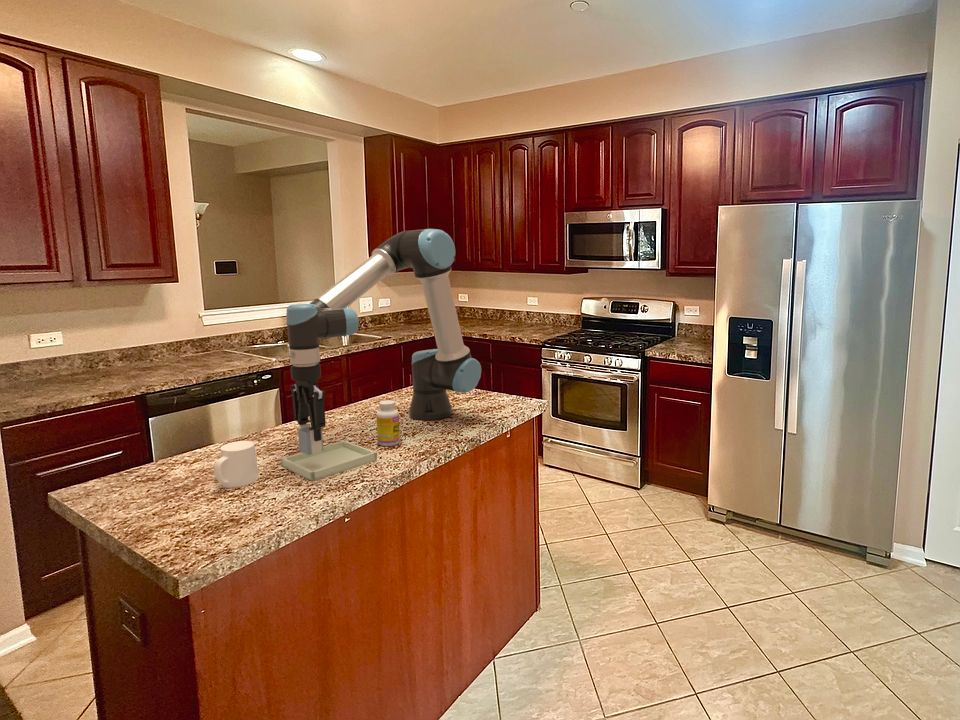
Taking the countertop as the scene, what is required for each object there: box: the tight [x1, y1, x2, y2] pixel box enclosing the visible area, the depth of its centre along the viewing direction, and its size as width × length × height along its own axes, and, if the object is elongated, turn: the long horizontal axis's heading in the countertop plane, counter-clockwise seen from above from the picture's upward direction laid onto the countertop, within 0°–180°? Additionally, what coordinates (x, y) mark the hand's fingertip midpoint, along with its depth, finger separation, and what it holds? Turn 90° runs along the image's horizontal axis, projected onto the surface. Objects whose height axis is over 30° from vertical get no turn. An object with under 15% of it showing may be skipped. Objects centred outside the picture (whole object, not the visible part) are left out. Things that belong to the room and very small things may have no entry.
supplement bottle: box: [375, 399, 401, 447], centre depth 172 cm, size 7×7×13 cm
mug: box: [213, 440, 260, 489], centre depth 145 cm, size 12×9×8 cm
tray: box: [280, 440, 378, 482], centre depth 157 cm, size 20×16×2 cm
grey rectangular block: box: [297, 425, 324, 455], centre depth 153 cm, size 4×4×6 cm
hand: (311, 449), depth 153 cm, fingers closed on grey rectangular block, 4 cm apart
